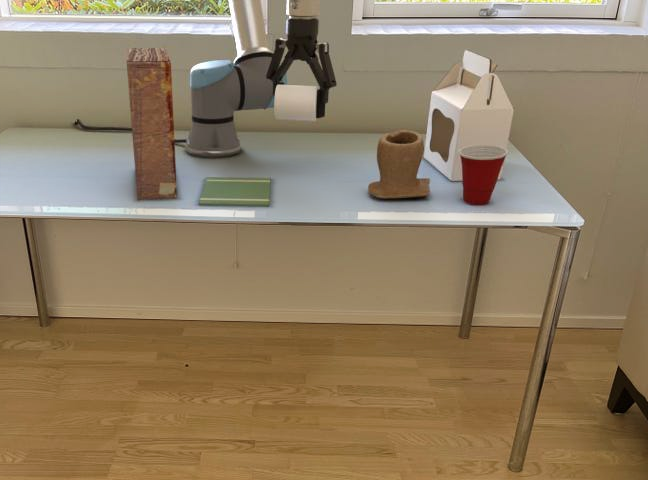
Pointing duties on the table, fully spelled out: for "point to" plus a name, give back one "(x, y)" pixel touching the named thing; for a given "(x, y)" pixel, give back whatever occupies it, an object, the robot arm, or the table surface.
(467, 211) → the table surface
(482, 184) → the plastic cup
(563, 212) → the table surface
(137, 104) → the book
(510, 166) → the table surface
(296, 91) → the mug
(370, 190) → the stone cup
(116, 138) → the table surface
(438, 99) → the gable box
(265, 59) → the robot arm
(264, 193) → the cloth
